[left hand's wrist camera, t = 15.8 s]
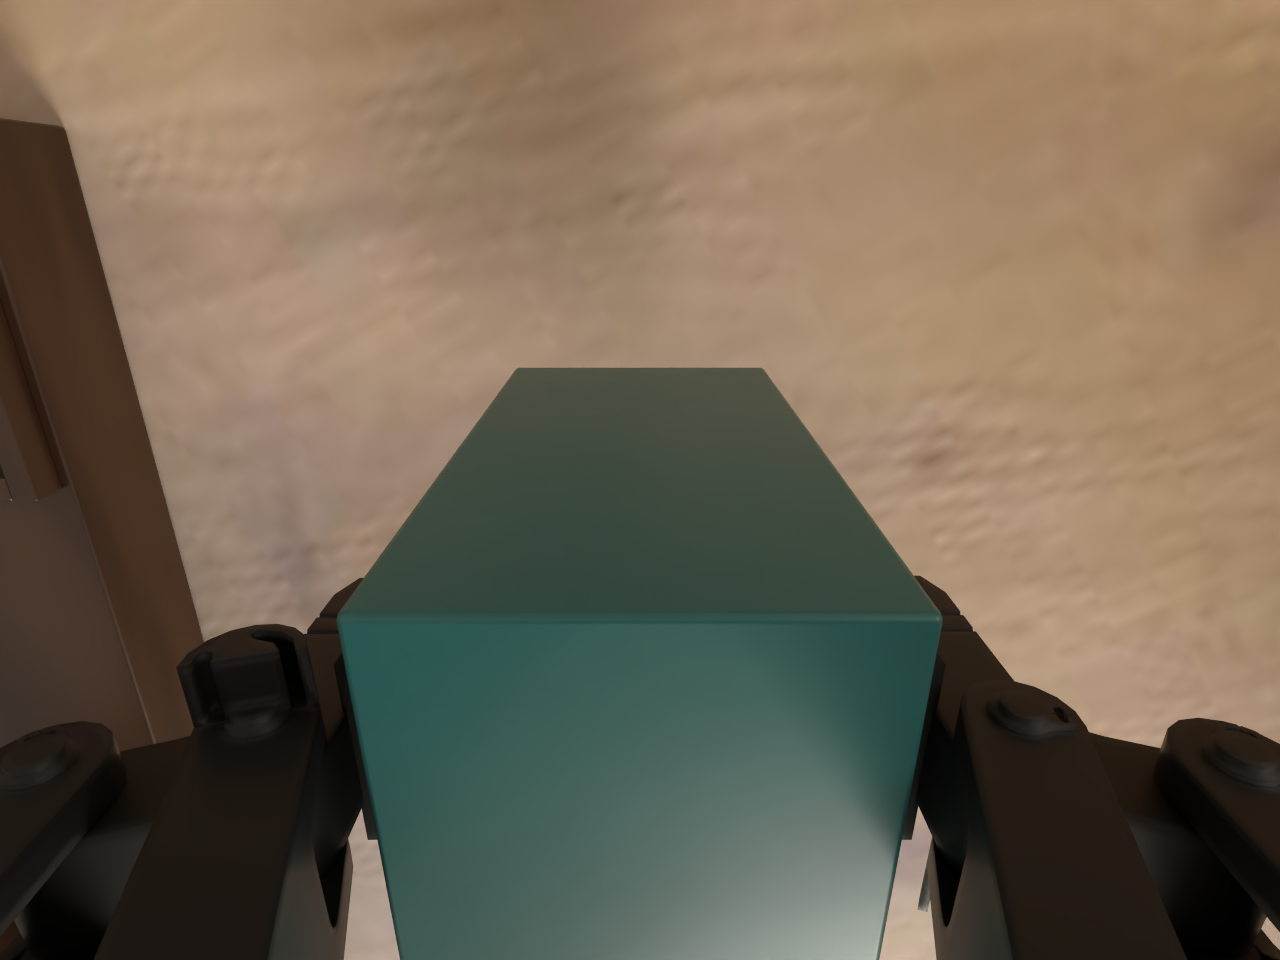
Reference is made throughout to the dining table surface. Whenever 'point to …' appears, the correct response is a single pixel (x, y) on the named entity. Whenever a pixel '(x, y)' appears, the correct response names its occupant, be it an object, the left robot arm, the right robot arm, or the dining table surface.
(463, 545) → the cap block
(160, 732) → the holder
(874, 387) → the dining table surface
